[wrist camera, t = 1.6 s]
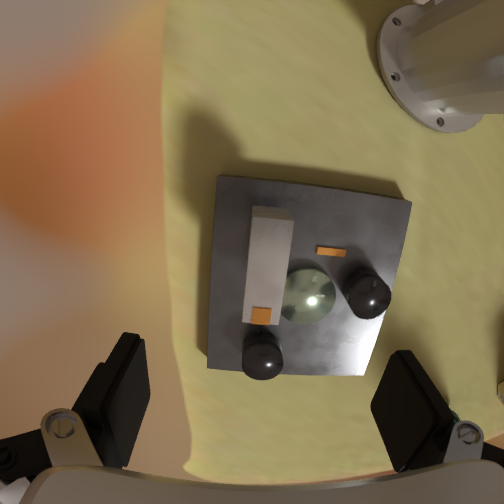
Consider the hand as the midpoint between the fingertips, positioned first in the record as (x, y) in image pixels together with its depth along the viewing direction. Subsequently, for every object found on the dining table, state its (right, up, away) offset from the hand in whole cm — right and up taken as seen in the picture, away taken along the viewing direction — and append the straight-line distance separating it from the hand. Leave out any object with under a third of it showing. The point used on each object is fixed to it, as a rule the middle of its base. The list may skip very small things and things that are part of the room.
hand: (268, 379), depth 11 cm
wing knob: (0, +5, +14) cm, 15 cm away
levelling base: (+4, +2, +17) cm, 17 cm away
